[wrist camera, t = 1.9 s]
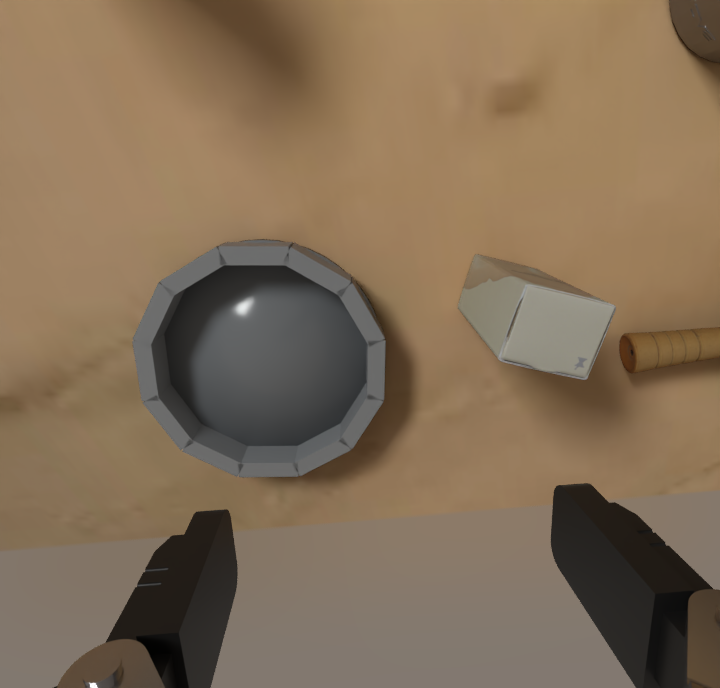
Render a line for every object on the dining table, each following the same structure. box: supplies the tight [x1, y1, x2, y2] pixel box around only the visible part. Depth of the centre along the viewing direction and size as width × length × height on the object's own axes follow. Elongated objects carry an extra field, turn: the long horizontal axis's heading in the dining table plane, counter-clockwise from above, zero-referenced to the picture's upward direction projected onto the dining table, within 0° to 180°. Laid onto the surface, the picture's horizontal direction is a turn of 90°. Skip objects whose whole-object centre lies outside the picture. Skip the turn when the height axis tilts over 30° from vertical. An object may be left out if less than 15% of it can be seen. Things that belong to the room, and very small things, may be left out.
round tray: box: [132, 239, 386, 477], centre depth 34 cm, size 17×17×3 cm
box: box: [458, 254, 616, 380], centre depth 29 cm, size 5×4×11 cm
